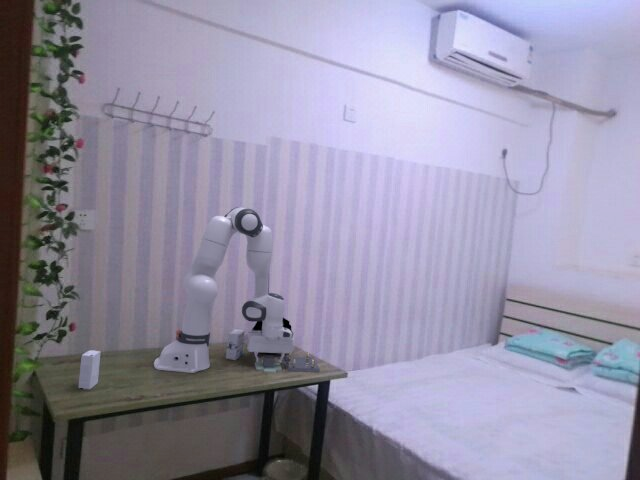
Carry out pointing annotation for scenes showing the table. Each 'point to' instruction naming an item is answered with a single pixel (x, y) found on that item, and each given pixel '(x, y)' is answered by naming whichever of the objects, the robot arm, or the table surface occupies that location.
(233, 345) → the ink box
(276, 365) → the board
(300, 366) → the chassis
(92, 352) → the skincare box
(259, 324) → the coal bowl
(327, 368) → the table surface
